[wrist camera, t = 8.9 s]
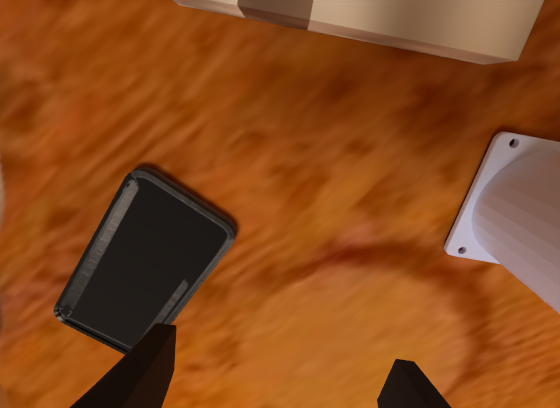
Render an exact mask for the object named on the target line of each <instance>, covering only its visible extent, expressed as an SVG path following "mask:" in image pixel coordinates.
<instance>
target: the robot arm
mask: <svg viewBox="0 0 560 408" xmlns="http://www.w3.org/2000/svg"><path fill="white" fill-rule="evenodd" d="M512 139H514V143H513V145H511V146H509V143H510V141H511V140H512ZM461 247H463V249H462V250H460V251H458V249H459V248H461ZM444 250H445V251H446V252H447V253H448V254H449V255H452V256H458V257H463V258H469V259H475V260H480V261H486V262H492V263H497V264H501V265H503V266H504V267H505V268H506V269H507V270H509V271H510V272H511V273H512V274H513V275H514V276H516V277H517V278H518V279H519V280H520V281H521V282H523V283H524V284H525V285H526V286H527V287H528V288H530V289H531V290H532V291H533V292H534V293H536V294H537V295H538V296H539V297H540V298H541V299H543V300H544V301H545V302H546V303H547V304H548V305H550V306H551V307H552V308H553V309H554V310H556V311H557V312H558V313H559V314H560V142H557V141H552V140H547V139H541V138H536V137H531V136H526V135H520V134H515V133H510V132H500V133H498V134H497V135H495V136H494V138H493V140H492V142H491V144H490V146H489V148H488V151H487V153H486V155H485V157H484V159H483V162H482V164H481V166H480V168H479V170H478V173H477V175H476V177H475V179H474V181H473V184H472V186H471V188H470V190H469V192H468V195H467V197H466V199H465V201H464V203H463V206H462V208H461V210H460V212H459V214H458V217H457V219H456V221H455V223H454V225H453V228H452V230H451V232H450V234H449V236H448V239H447V241H446V243H445V245H444ZM175 343H176V325H169V324H163V323H156V324H154V325H153V326H152V327H151V328H150V329H149V331H148V332H147V333H146V334H145V335H144V336H143V337H142V338H141V339H140V340H139V341H138V342H137V343H136V344H135V346H134V347H133V348H132V349H131V350H130V351H129V352H128V353H127V354H126V355H125V356H124V357H123V358H122V359H121V360H120V361H119V362H118V363H117V364H116V365H115V366H114V367H113V368H112V369H111V370H110V371H109V372H107V373H106V374H105V375H104V376H103V377H102V378H101V379H100V380H99V381H98V382H97V383H96V384H95V385H94V386H93V387H92V388H91V389H90V390H89V391H88V392H86V393H85V394H84V395H83V396H82V397H81V398H80V399H79V400H77V401H76V402H75V403H74V404H73V405H72V406H71V407H70V408H161V407H162V405H163V402H164V399H165V396H166V393H167V390H168V387H169V384H170V381H171V378H172V375H173V372H174V363H175ZM377 402H378V408H451V407H450V405H449V404H448V403H447V402H446V400H445V399H444V398H443V397H442V396H441V394H440V393H439V392H438V391H437V389H436V388H435V387H434V386H433V384H432V383H431V382H430V381H429V379H428V378H427V377H426V376H425V374H424V373H423V372H422V371H421V369H420V368H419V367H418V366H417V365H416V363H415V362H413V361H407V360H400V359H396V360H395V362H394V364H393V366H392V369H391V371H390V373H389V375H388V377H387V380H386V382H385V384H384V386H383V388H382V391H381V393H380V395H379V397H378V399H377Z"/></svg>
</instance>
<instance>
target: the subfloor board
mask: <svg viewBox="0 0 560 408" xmlns="http://www.w3.org/2000/svg"><path fill="white" fill-rule="evenodd" d="M173 1H175V2H176V3H177V4H179V5H181V6H186V7H191V8H196V9H201V10H206V11H211V12H217V13H222V14H227V15H232V16H237V17H242V18H247V19H252V20H257V21H262V22H268V23H273V24H278V25H283V26H288V27H293V28H298V29H303V30H308V31H313V32H319V33H324V34H329V35H334V36H339V37H344V38H349V39H354V40H359V41H364V42H370V43H375V44H380V45H385V46H390V47H395V48H400V49H405V50H410V51H415V52H421V53H426V54H431V55H436V56H441V57H446V58H451V59H456V60H461V61H466V62H471V63H477V64H482V65H486V64H494V63H503V62H512V61H518V59H519V57H520V54H521V52H522V50H523V48H524V45H525V43H526V41H527V39H528V36H529V34H530V32H531V29H532V27H533V25H534V23H535V20H536V18H537V16H538V14H539V11H540V9H541V7H542V5H543V2H544V0H173Z"/></svg>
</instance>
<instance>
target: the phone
mask: <svg viewBox="0 0 560 408" xmlns="http://www.w3.org/2000/svg"><path fill="white" fill-rule="evenodd" d="M188 195H189V196H190V197H189V196H188ZM191 197H192V198H193V199H192V198H191ZM194 199H195V200H196V201H195V200H194ZM197 201H198V202H199V203H198V202H197ZM200 203H201V204H200ZM219 214H220V215H221V216H220V215H219ZM235 237H236V227H235V225H234V223H233V222H232V221H231V220H230V219H229V218H227V217H226V216H224V215H223V214H221V213H219V212H218V211H216V210H215V209H213V208H212V207H210V206H209V205H207V204H206V203H204V202H203V201H201V200H200V199H198V198H197V197H195V196H194V195H192V194H191V193H189V192H188V191H186V190H185V189H183V188H182V187H180V186H178V185H177V184H175V183H174V182H172V181H171V180H169V179H168V178H166V177H165V176H163V175H162V174H160V173H159V172H157V171H156V170H154V169H151V168H148V167H141V168H138V169H136V170H134V171H132V172H130V173H128V174H127V176H126V177H125V178H124V180H123V182H122V184H121V186H120V187H119V189H118V191H117V193H116V195H115V197H114V198H113V200H112V202H111V204H110V206H109V208H108V209H107V211H106V213H105V215H104V217H103V219H102V220H101V222H100V224H99V226H98V228H97V230H96V232H95V233H94V235H93V237H92V239H91V241H90V243H89V244H88V246H87V248H86V250H85V252H84V254H83V255H82V257H81V259H80V261H79V263H78V265H77V266H76V268H75V270H74V272H73V274H72V276H71V277H70V279H69V281H68V283H67V285H66V287H65V288H64V290H63V292H62V294H61V296H60V298H59V299H58V301H57V303H56V305H55V307H54V314H55V316H56V318H57V319H58V320H59V321H61V322H62V323H64V324H66V325H68V326H70V327H72V328H74V329H76V330H78V331H79V332H81V333H83V334H85V335H87V336H89V337H91V338H93V339H95V340H97V341H99V342H101V343H103V344H105V345H107V346H109V347H111V348H113V349H115V350H117V351H119V352H121V353H123V354H125V355H126V354H127V353H128V352H129V351H130V350H131V349H132V348H133V347H134V346H135V344H136V343H137V342H138V341H139V340H140V339H141V338H142V337H143V336H144V335H145V334H146V333H147V332H148V331H149V329H150V328H151V327H152V326H153V325H154V324H156V323H163V324H169V325H171V324H172V322H173V321H174V319H175V318H176V316H177V315H178V314H179V312H180V311H181V310H182V309H183V307H184V306H185V305H186V304H187V302H188V301H189V300H190V298H191V297H192V296H193V295H194V293H195V292H196V291H197V289H198V288H199V287H200V286H201V284H202V283H203V282H204V280H205V279H206V278H207V277H208V275H209V274H210V273H211V271H212V270H213V269H214V268H215V266H216V265H217V264H218V262H219V261H220V260H221V259H222V257H223V256H224V255H225V254H226V252H227V251H228V250H229V248H230V247H231V246H232V244H233V242H234V240H235Z"/></svg>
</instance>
